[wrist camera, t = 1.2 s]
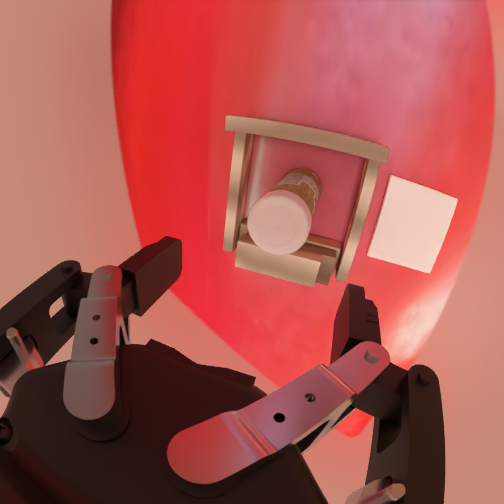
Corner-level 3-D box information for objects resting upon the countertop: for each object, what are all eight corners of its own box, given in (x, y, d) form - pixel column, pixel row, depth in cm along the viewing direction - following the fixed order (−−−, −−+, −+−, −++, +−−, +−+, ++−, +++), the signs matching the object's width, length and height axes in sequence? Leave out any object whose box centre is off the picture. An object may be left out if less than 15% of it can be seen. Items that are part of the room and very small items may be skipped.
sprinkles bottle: (323, 203, 31) (312, 256, 19) (285, 206, 32) (251, 258, 21) (318, 164, 29) (304, 193, 18) (279, 169, 31) (239, 199, 19)
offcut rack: (246, 116, 29) (226, 115, 24) (379, 143, 26) (389, 148, 21) (231, 243, 37) (212, 264, 32) (344, 273, 34) (343, 300, 29)
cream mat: (389, 174, 27) (391, 175, 26) (455, 197, 25) (458, 199, 24) (366, 252, 32) (367, 255, 31) (428, 270, 30) (429, 273, 29)
